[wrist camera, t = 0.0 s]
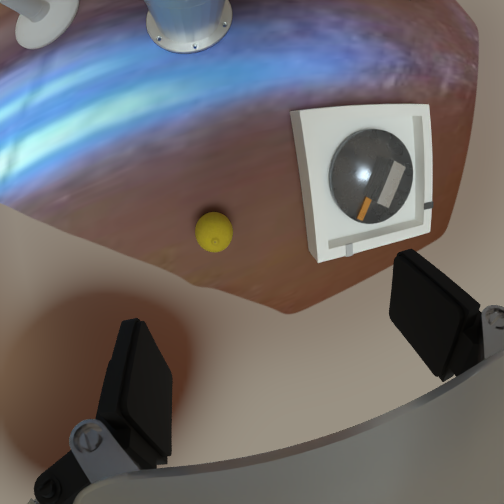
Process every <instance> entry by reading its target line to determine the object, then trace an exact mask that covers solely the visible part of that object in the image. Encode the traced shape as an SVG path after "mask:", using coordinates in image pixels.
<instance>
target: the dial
mask: <svg viewBox="0 0 504 504" xmlns="http://www.w3.org/2000/svg"><path fill="white" fill-rule="evenodd" d="M412 181H413V165H412V160H411V157H410V154H409V152H408V150H407V148H406V146H405V145H404V144H403V142H402V141H401V140H400V139H399V138H398V137H396V136H395V135H393V134H392V133H390V132H387V131H384V130H379V129H363V130H360V131H357V132H355V133H353V134H351V135H350V136H349V137H347V138H346V139H345V140H344V141H343V142H342V143H341V144H340V146H339V147H338V149H337V150H336V152H335V154H334V156H333V158H332V161H331V165H330V170H329V186H330V191H331V194H332V197H333V199H334V201H335V203H336V205H337V206H338V207H339V209H340V210H341V211H342V212H343V213H344V214H346V215H347V216H348V217H350V218H351V219H353V220H355V221H357V222H360V223H364V224H375V223H380V222H383V221H385V220H387V219H389V218H390V217H392V216H393V215H394V214H396V213H397V212H398V211H399V210H400V208H401V207H402V206H403V205H404V203H405V201H406V200H407V198H408V196H409V193H410V190H411V187H412Z"/></svg>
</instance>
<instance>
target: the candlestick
mask: <svg viewBox="0 0 504 504" xmlns="http://www.w3.org/2000/svg"><path fill="white" fill-rule="evenodd" d="M0 3H2V4H4V5H6V6H7V7H9V8H11V9H13V10H15V11H16V12H18V13H20V16H19V18H18V21H17V24H16V31H15V32H16V39H17V41H18V43H19V44H20V45H21V46H23V47H24V48H27V49H39V48H42V47H44V46H47V45H49V44H50V43H52V42H53V41H55V40H56V39H57V38H59V37H60V36H61V35H62V34H63V33H64V32H65V31H66V30H67V28H68V27H69V26H70V24H71V23H72V21H73V20H74V18H75V16H76V14H77V11H78V7H79V0H0Z"/></svg>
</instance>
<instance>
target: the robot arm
mask: <svg viewBox="0 0 504 504" xmlns="http://www.w3.org/2000/svg"><path fill="white" fill-rule="evenodd" d="M144 1H145V3H146V5H147V7H148V9H149V10H148V13H147V17H146V27H147V31H148V34H149V35H150V37H151V39H152V40H153V41H154V42H155V43H156V44H157V45H158V46H159V47H161V48H163V49H165V50H167V51H170V52H173V53H180V54H190V53H196V52H200V51H203V50H206V49H208V48H210V47H212V46H214V45H215V44H216V43H218V42H219V41H220V40H221V39H222V38H223V37H224V36H225V34H226V33H227V31H228V30H229V27H230V25H231V21H232V8H231V5H230V3H229V1H228V0H144ZM223 25H225V26H226V27H223ZM159 39H161V41H158V40H159ZM193 47H197V48H196V49H193ZM479 308H480V304H479V303H478V302H477V301H476V300H475V299H473V298H472V297H471V296H470V295H469V294H468V293H466V292H465V291H464V290H463V289H461V287H459V286H458V285H457V284H456V283H455V282H453V281H452V280H451V279H450V278H449V277H447V276H446V275H445V274H444V273H442V272H441V271H440V270H439V269H437V268H436V267H435V266H434V265H432V264H431V263H430V262H429V261H427V260H426V259H425V258H424V257H422V256H421V255H420V254H418V253H417V252H416V251H414V250H413V249H408V250H405V251H402V252H399V253H398V254H397V257H395V259H394V265H393V279H392V290H391V299H390V308H389V316H390V319H391V321H392V322H393V323H394V325H395V326H396V327H397V328H398V329H399V331H401V333H402V334H403V336H404V337H405V338H406V339H407V341H408V342H409V343H410V344H411V346H412V347H413V348H414V350H415V351H416V352H417V353H418V355H419V356H420V357H421V358H422V360H423V361H424V363H425V364H426V365H427V366H428V368H429V369H430V370H431V372H432V373H433V374H434V375H435V376H437V377H438V376H439V378H440V379H441V380H442V382H444V381H446V380H447V379H449V378H451V377H452V376H453V375H454V374H455V376H456V377H455V378H454V379H452V380H450V381H448V382H447V383H445V384H443V385H441V386H439V387H438V388H436V389H434V390H432V391H430V392H428V393H427V394H425V395H423V396H421V397H419V398H417V399H415V400H413V401H411V402H409V403H407V404H405V405H402V406H400V407H398V408H396V409H394V410H392V411H389V412H387V413H385V414H383V415H380V416H378V417H376V418H373V419H371V420H368V421H366V422H363V423H361V424H358V425H355V426H353V427H350V428H347V429H345V430H342V431H339V432H336V433H333V434H330V435H327V436H324V437H321V438H318V439H315V440H311V441H308V442H304V443H301V444H297V445H294V446H290V447H287V448H283V449H278V450H274V451H270V452H266V453H261V454H257V455H252V456H247V457H242V458H236V459H230V460H224V461H218V462H212V463H204V464H197V465H188V466H179V467H167V468H159V469H156V468H157V465H161V464H167V456H171V451H172V448H171V447H172V445H171V423H172V419H171V417H172V374H171V371H170V369H169V367H168V365H167V363H166V362H165V360H164V358H163V356H162V354H161V352H160V351H159V349H158V347H157V345H156V343H155V341H154V339H153V337H152V335H151V333H150V331H149V329H148V327H147V325H146V323H145V322H144V321H140V320H139V319H138V318H135V319H130V320H124V321H122V323H121V326H120V330H119V333H118V337H117V340H116V344H115V347H114V351H113V355H112V359H111V360H110V361H109V364H108V367H107V371H106V375H105V379H104V383H103V387H102V392H101V396H100V400H99V405H98V410H97V414H96V419H88V420H84V421H82V422H80V423H79V424H77V426H75V428H74V429H73V430H72V432H71V435H70V438H69V445H70V448H71V450H70V451H69V452H68V453H67V454H66V455H65V456H63V457H62V458H61V459H60V460H58V461H57V462H56V463H55V464H53V465H52V466H51V467H50V468H48V469H47V470H46V471H45V472H43V473H42V474H41V475H40V476H39V477H38V478H37V480H36V482H35V486H34V494H35V497H36V499H35V500H33V499H30V501H29V502H28V504H504V307H502V306H498V305H491V306H487V307H486V308H485V309H484V310H483V311H482V312H480V311H479Z"/></svg>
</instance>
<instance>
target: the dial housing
mask: <svg viewBox="0 0 504 504" xmlns="http://www.w3.org/2000/svg"><path fill="white" fill-rule="evenodd" d="M290 117H291V123H292V129H293V135H294V141H295V148H296V154H297V161H298V168H299V175H300V182H301V190H302V197H303V205H304V213H305V222H306V230H307V239H308V249H309V251H310V253H311V254H312V255H313V257H314V258H315V259H316V261H317V262H318V263H320V262H323V261H327V260H331V259H335V258H339V257H342V256H346V257H348V256H352V255H353V254H354V253H357V252H361V251H365V250H368V249H372V248H376V247H379V246H383V245H387V244H390V243H394V242H397V241H401V240H404V239H408V238H411V237H415V236H418V235H422V234H425V233H429V232H430V226H431V210H432V208H433V201H432V138H431V122H430V111H429V105H427V104H363V105H346V106H333V107H322V108H312V109H303V110H295V111H290ZM363 129H379V130H384V131H387V132H390V133H392V134H393V135H395V136H396V137H398V138H399V139H400V140H401V141H402V142H403V144H404V145H405V146H406V148H407V150H408V152H409V154H410V157H411V160H412V165H413V181H412V187H411V190H410V193H409V196H408V198H407V200H406V201H405V203H404V205H403V206H402V207H401V208H400V210H399V211H398V212H397V213H396V214H394V215H393V216H392V217H390V218H389V219H387V220H385V221H383V222H380V223H375V224H364V223H360V222H357V221H355V220H353V219H351V218H350V217H348V216H347V215H346V214H344V213H343V212H342V211H341V210H340V209H339V207H338V206H337V205H336V203H335V201H334V199H333V197H332V194H331V191H330V186H329V170H330V165H331V161H332V158H333V156H334V154H335V152H336V150H337V149H338V147H339V146H340V144H341V143H342V142H343V141H344V140H345V139H346V138H347V137H349V136H350V135H351V134H353V133H355V132H357V131H360V130H363Z"/></svg>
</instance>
